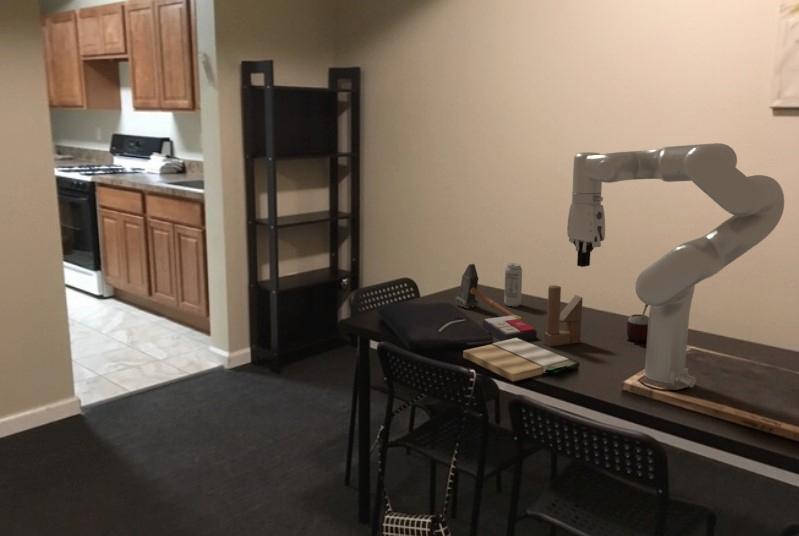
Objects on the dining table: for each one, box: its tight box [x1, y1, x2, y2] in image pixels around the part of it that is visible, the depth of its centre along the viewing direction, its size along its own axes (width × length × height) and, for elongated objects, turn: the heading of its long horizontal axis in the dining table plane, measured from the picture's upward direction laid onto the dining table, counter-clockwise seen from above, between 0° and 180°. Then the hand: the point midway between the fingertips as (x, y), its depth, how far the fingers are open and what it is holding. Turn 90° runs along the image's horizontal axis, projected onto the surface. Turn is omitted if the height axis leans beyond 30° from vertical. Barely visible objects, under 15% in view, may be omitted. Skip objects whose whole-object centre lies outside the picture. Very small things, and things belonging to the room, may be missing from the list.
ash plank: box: [491, 338, 570, 374], centre depth 199 cm, size 22×9×2 cm, turn 31°
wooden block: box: [543, 284, 583, 347], centre depth 211 cm, size 4×11×18 cm, turn 111°
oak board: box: [462, 344, 543, 382], centre depth 194 cm, size 22×10×2 cm, turn 31°
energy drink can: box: [503, 262, 523, 307], centre depth 253 cm, size 6×6×15 cm
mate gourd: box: [626, 304, 649, 346], centre depth 211 cm, size 8×8×15 cm
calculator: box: [482, 315, 538, 342], centre depth 222 cm, size 11×4×15 cm
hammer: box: [454, 263, 524, 322], centre depth 242 cm, size 6×16×30 cm
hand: (583, 265), depth 193 cm, fingers closed
